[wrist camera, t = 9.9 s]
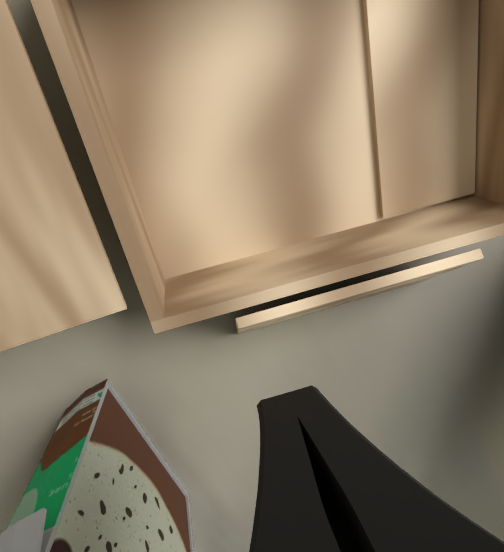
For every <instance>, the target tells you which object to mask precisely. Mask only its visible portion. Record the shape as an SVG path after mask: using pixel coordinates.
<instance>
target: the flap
mask: <svg viewBox="0 0 504 552" xmlns="http://www.w3.org/2000/svg"><path fill="white" fill-rule="evenodd" d="M125 309H127V306H126V302H125V300H124V297H123V295H122V292H121V289H120V287H119V284H118V282H117V279H116V277H115V274H114V272H113V269H112V267H111V264H110V262H109V259H108V256H107V254H106V251H105V249H104V246H103V244H102V241H101V239H100V236H99V234H98V231H97V229H96V226H95V223H94V221H93V218H92V216H91V213H90V211H89V208H88V206H87V203H86V201H85V198H84V195H83V193H82V190H81V188H80V185H79V183H78V180H77V178H76V175H75V173H74V170H73V168H72V165H71V162H70V160H69V157H68V155H67V152H66V150H65V147H64V145H63V142H62V140H61V137H60V135H59V132H58V129H57V127H56V124H55V122H54V119H53V117H52V114H51V112H50V109H49V107H48V104H47V102H46V99H45V96H44V94H43V91H42V89H41V86H40V84H39V81H38V79H37V76H36V74H35V71H34V68H33V66H32V63H31V61H30V58H29V56H28V53H27V51H26V48H25V46H24V43H23V41H22V38H21V35H20V33H19V30H18V28H17V25H16V23H15V20H14V18H13V15H12V13H11V10H10V8H9V5H8V2H7V0H0V352H1V351H4V350H7V349H10V348H13V347H16V346H19V345H22V344H25V343H28V342H31V341H34V340H37V339H39V338H42V337H45V336H48V335H51V334H54V333H57V332H60V331H63V330H66V329H69V328H72V327H75V326H78V325H81V324H84V323H87V322H90V321H93V320H95V319H98V318H101V317H104V316H107V315H110V314H113V313H116V312H119V311H122V310H125Z"/></svg>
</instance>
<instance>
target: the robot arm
mask: <svg viewBox="0 0 504 552" xmlns="http://www.w3.org/2000/svg"><path fill="white" fill-rule="evenodd" d="M257 408H258V413H259V421H260V465H259V481H258V492H257V500H256V508H255V516H254V524H253V532H252V538H251V544H250V551H249V552H504V542H503V541H501V540H500V539H498V538H497V537H495V536H494V535H492V534H491V533H489V532H488V531H486V530H485V529H483V528H482V527H480V526H479V525H477V524H476V523H474V522H473V521H471V520H470V519H468V518H467V517H465V516H464V515H463V514H461V513H460V512H458V511H457V510H456V509H454V508H453V507H451V506H450V505H448V504H447V503H446V502H444V501H443V500H442V499H440V498H439V497H437V496H436V495H435V494H433V493H432V492H431V491H429V490H428V489H427V488H425V487H424V486H423V485H422V484H420V483H419V482H418V481H416V480H415V479H414V478H413V477H411V476H410V475H409V474H408V473H406V472H405V471H404V470H403V469H401V468H400V467H399V466H398V465H396V464H395V463H394V462H393V461H392V460H391V459H389V458H388V457H387V456H386V455H385V454H383V453H382V452H381V451H380V450H379V449H378V448H377V447H376V446H374V445H373V444H372V443H371V442H370V441H369V440H368V439H367V438H365V437H364V436H363V435H362V434H361V433H360V432H359V431H358V430H357V429H356V428H354V427H353V426H352V425H351V424H350V423H349V422H348V421H347V420H346V419H345V418H344V417H343V416H342V415H341V414H340V413H339V412H338V411H337V410H336V409H335V408H334V407H333V406H332V405H331V404H330V403H329V401H328V400H327V399H326V398H325V397H324V396H323V395H322V394H321V393H320V391H319V390H318V389H317V388H315V387H313V386H309V387H305V388H302V389H298V390H295V391H292V392H288V393H285V394H281V395H278V396H274V397H271V398H267V399H264V400H261V401H260V402H259V404H258V405H257Z"/></svg>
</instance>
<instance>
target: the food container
mask: <svg viewBox="0 0 504 552" xmlns="http://www.w3.org/2000/svg"><path fill="white" fill-rule="evenodd" d="M0 552H194V544H193V533H192V523H191V512H190V502H189V494H188V492H187V491H186V490H185V488H184V487H183V485H182V484H181V482H180V481H179V480H178V478H177V477H176V475H175V474H174V473H173V471H172V470H171V468H170V467H169V465H168V464H167V463H166V461H165V460H164V458H163V457H162V456H161V454H160V453H159V451H158V450H157V448H156V447H155V446H154V444H153V443H152V441H151V440H150V439H149V437H148V436H147V434H146V433H145V431H144V430H143V429H142V427H141V426H140V424H139V423H138V421H137V420H136V419H135V417H134V416H133V414H132V413H131V412H130V410H129V409H128V407H127V406H126V404H125V403H124V402H123V400H122V399H121V397H120V396H119V395H118V393H117V392H116V390H115V389H114V387H113V386H112V385H111V383H110V382H109V380H108V379H107V380H105V381H103V382H101V383H99V384H97V385H95V386H94V387H92V388H90V389H88V390H87V391H85V392H84V393H83V394H82V395H81V396H80V397H79V398H78V399H77V400H76V401H75V402H74V403H73V404H72V405H71V406H70V407H69V408H68V409H66V411H65V413H64V415H63V417H62V419H61V421H60V423H59V425H58V427H57V429H56V431H55V433H54V435H53V437H52V439H51V441H50V443H49V445H48V447H47V449H46V451H45V453H44V455H43V457H42V459H41V461H40V463H39V465H38V467H37V469H36V471H35V473H34V475H33V477H32V479H31V481H30V483H29V485H28V487H27V489H26V491H25V493H24V495H23V497H22V499H21V501H20V503H19V505H18V507H17V509H16V511H15V513H14V515H13V517H12V519H11V521H10V523H9V525H8V527H7V529H6V530H5V531H3V532H2V533H0Z"/></svg>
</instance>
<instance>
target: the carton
mask: <svg viewBox="0 0 504 552" xmlns="http://www.w3.org/2000/svg"><path fill="white" fill-rule="evenodd" d="M30 1H31V4H32V6H33V9H34V12H35V14H36V17H37V20H38V22H39V25H40V28H41V30H42V33H43V36H44V38H45V41H46V44H47V46H48V49H49V52H50V54H51V57H52V60H53V62H54V65H55V68H56V71H57V73H58V76H59V79H60V81H61V84H62V87H63V89H64V92H65V95H66V97H67V100H68V103H69V105H70V108H71V111H72V113H73V116H74V119H75V121H76V124H77V127H78V130H79V132H80V135H81V138H82V140H83V143H84V146H85V148H86V151H87V154H88V156H89V159H90V162H91V164H92V167H93V170H94V172H95V175H96V178H97V180H98V183H99V186H100V189H101V191H102V194H103V197H104V199H105V202H106V205H107V207H108V210H109V213H110V215H111V218H112V221H113V223H114V226H115V229H116V231H117V234H118V237H119V239H120V242H121V245H122V248H123V250H124V253H125V256H126V258H127V261H128V264H129V266H130V269H131V272H132V274H133V277H134V280H135V282H136V285H137V288H138V290H139V293H140V296H141V298H142V301H143V304H144V307H145V309H146V312H147V315H148V317H149V320H150V323H151V325H152V328H153V331H154V333H155V334H156V333H159V332H163V331H166V330H170V329H173V328H177V327H180V326H184V325H187V324H191V323H195V322H198V321H202V320H205V319H209V318H212V317H216V316H219V315H223V314H226V313H230V312H233V311H237V310H240V309H244V308H247V307H251V306H254V305H258V304H261V303H265V302H269V301H272V300H276V299H279V298H283V297H286V296H290V295H293V294H297V293H300V292H304V291H307V290H311V289H314V288H318V287H321V286H325V285H328V284H332V283H335V282H339V281H343V280H346V279H350V278H353V277H357V276H360V275H364V274H367V273H371V272H374V271H378V270H381V269H385V268H388V267H392V266H395V265H399V264H402V263H406V262H409V261H413V260H417V259H420V258H424V257H427V256H431V255H434V254H438V253H441V252H445V251H448V250H452V249H455V248H459V247H462V246H466V245H469V244H473V243H476V242H480V241H483V240H487V239H491V238H494V237H498V236H501V235H504V0H30ZM483 258H484V257H483V254H482V252H481V249H477V250H473V251H470V252H466V253H463V254H459V255H456V256H452V257H449V258H445V259H442V260H438V261H435V262H431V263H428V264H424V265H421V266H417V267H414V268H410V269H407V270H403V271H400V272H396V273H393V274H389V275H386V276H382V277H379V278H375V279H372V280H368V281H365V282H361V283H358V284H354V285H351V286H347V287H344V288H340V289H337V290H333V291H330V292H326V293H323V294H319V295H316V296H312V297H309V298H305V299H302V300H298V301H295V302H291V303H288V304H284V305H281V306H277V307H274V308H270V309H267V310H263V311H260V312H256V313H253V314H249V315H246V316H242V317H239V318H236V329H237V332H238V334H240V333H244V332H247V331H251V330H254V329H258V328H261V327H265V326H268V325H272V324H275V323H278V322H282V321H285V320H289V319H292V318H296V317H299V316H303V315H306V314H310V313H313V312H316V311H320V310H323V309H327V308H330V307H334V306H337V305H341V304H344V303H348V302H351V301H355V300H358V299H361V298H365V297H368V296H372V295H375V294H379V293H382V292H386V291H389V290H393V289H396V288H399V287H403V286H406V285H410V284H413V283H417V282H420V281H424V280H427V279H429V278H432V277H435V276H437V275H440V274H443V273H445V272H448V271H451V270H453V269H456V268H459V267H461V266H464V265H467V264H469V263H472V262H475V261H478V260H480V259H483Z"/></svg>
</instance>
